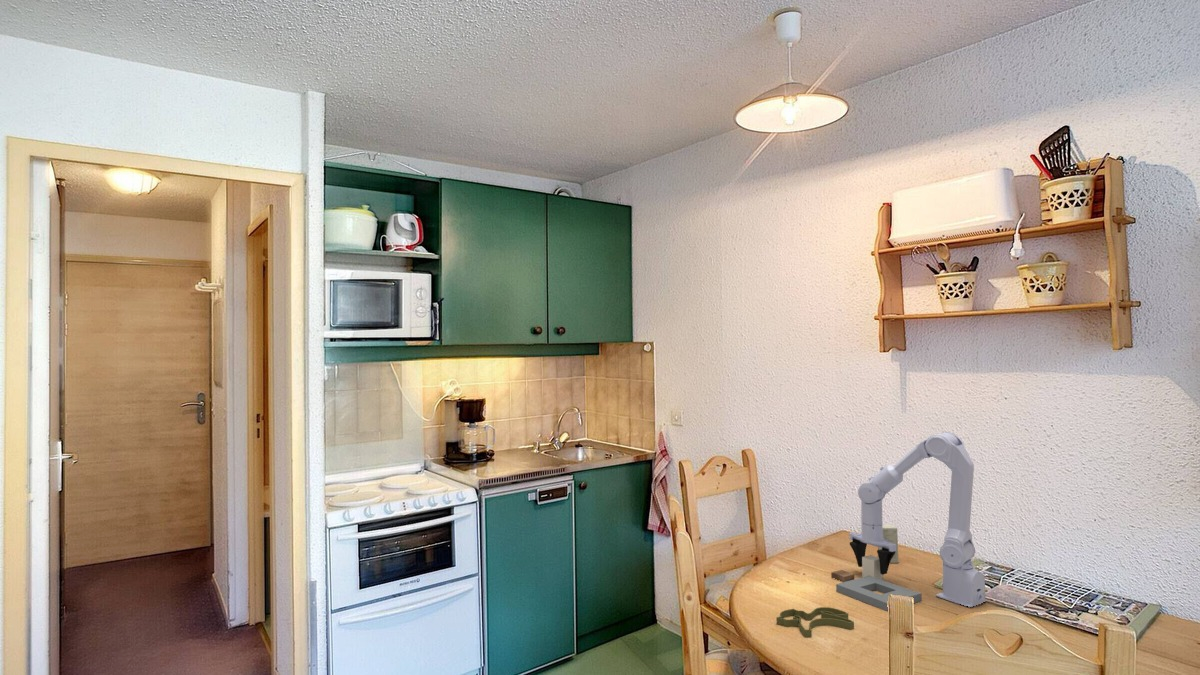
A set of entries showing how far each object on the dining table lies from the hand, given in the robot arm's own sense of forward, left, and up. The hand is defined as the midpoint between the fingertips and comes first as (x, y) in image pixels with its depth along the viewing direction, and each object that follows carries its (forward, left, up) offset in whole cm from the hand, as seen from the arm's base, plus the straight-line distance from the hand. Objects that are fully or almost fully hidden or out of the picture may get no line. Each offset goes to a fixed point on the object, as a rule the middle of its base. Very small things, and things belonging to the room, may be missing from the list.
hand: (872, 570), depth 188 cm
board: (-10, +11, -2) cm, 15 cm away
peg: (0, 0, -2) cm, 2 cm away
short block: (+4, +8, -3) cm, 9 cm away
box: (+8, -18, -3) cm, 20 cm away
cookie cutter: (-14, +40, -3) cm, 43 cm away
